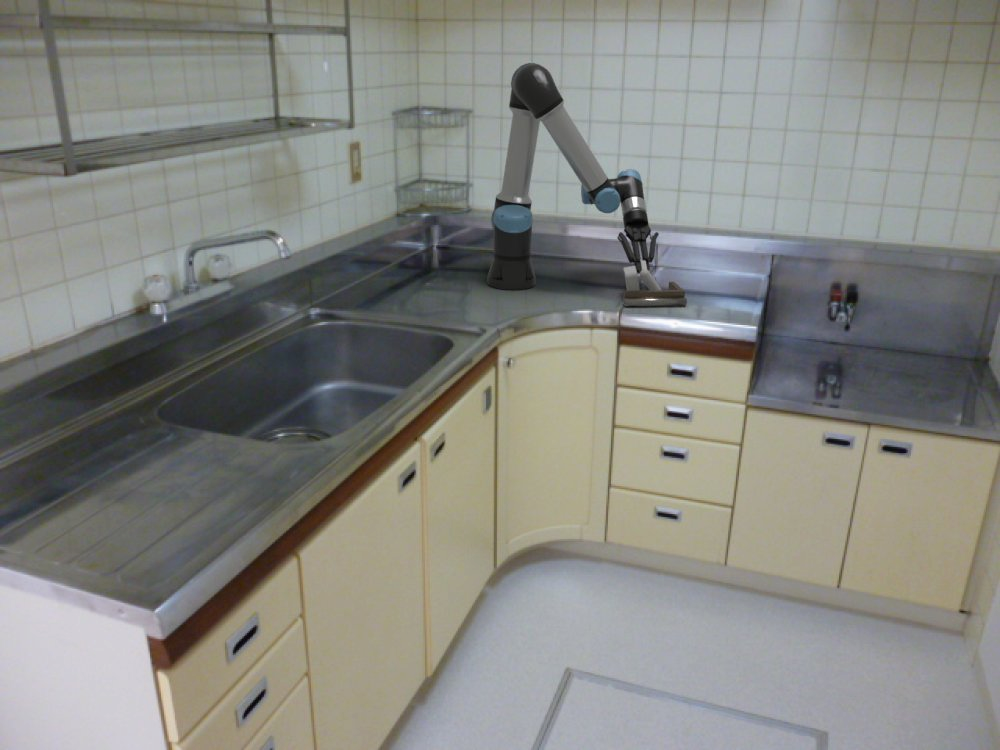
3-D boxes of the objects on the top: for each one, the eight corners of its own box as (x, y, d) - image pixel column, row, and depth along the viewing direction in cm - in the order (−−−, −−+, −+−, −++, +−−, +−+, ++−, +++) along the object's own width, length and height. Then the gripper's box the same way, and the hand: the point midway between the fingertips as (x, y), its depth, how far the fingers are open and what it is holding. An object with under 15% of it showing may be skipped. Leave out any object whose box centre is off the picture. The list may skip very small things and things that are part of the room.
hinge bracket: (626, 307, 241) (627, 294, 239) (615, 294, 253) (616, 282, 251) (686, 307, 243) (687, 293, 241) (672, 294, 255) (673, 281, 253)
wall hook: (665, 299, 247) (660, 267, 243) (630, 305, 248) (625, 274, 245) (661, 291, 255) (657, 260, 251) (628, 297, 256) (622, 266, 252)
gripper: (651, 221, 266) (662, 287, 257) (611, 222, 264) (621, 287, 255) (658, 208, 259) (669, 275, 250) (617, 208, 257) (627, 275, 248)
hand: (644, 281), depth 253 cm, fingers closed
